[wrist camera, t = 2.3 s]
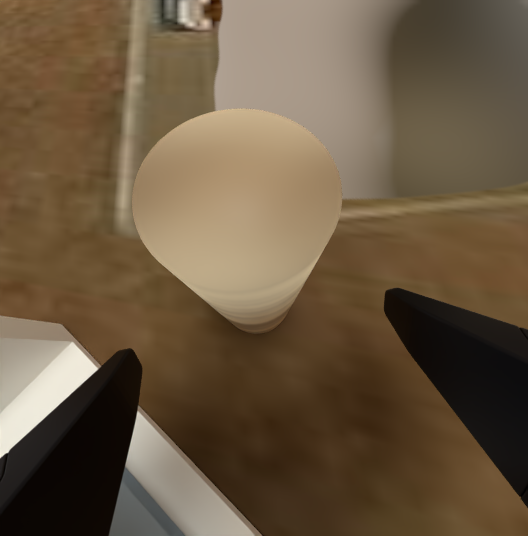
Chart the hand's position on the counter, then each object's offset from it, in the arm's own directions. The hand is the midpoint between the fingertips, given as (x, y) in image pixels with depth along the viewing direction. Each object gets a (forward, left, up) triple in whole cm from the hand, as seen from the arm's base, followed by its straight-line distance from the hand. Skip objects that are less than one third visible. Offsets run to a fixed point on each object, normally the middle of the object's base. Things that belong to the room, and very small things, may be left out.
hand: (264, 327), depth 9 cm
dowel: (+3, 0, -10) cm, 10 cm away
